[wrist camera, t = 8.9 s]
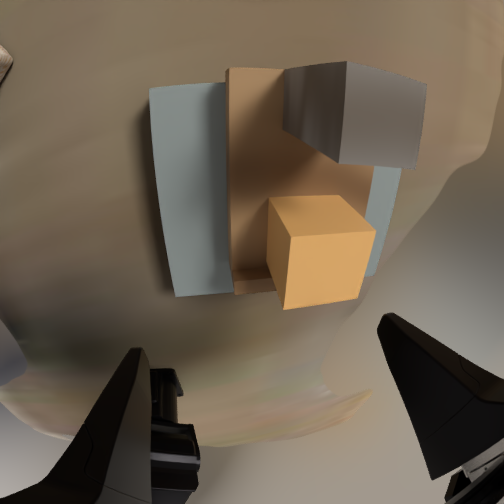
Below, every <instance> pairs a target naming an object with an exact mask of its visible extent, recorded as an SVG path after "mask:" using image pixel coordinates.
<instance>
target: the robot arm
mask: <svg viewBox="0 0 504 504" xmlns="http://www.w3.org/2000/svg"><path fill="white" fill-rule="evenodd" d="M377 334H378V337H379V340H380V343H381V346H382V349H383V352H384V355H385V358H386V361H387V364H388V366H389V369H390V371H391V373H392V375H393V378H394V380H395V382H396V385H397V387H398V390H399V392H400V395H401V397H402V399H403V401H404V404H405V407H406V409H407V412H408V414H409V417H410V420H411V422H412V425H413V428H414V430H415V433H416V436H417V438H418V441H419V443H420V447H421V450H422V453H423V456H424V459H425V462H426V465H427V468H428V471H429V474H430V477H431V480H434V479H437V478H439V477H441V476H443V475H445V474H447V473H449V472H450V471H452V470H454V469H456V468H458V467H460V466H461V467H462V469H460V470H459V471H458V472H456V473H455V474H454V475H452V476H451V480H450V483H449V486H448V489H447V492H446V494H445V501H446V503H445V504H504V379H502V378H499V377H498V376H496V375H494V374H492V373H490V372H488V371H486V370H484V369H482V368H481V367H479V366H477V365H475V364H474V363H472V362H470V361H469V360H467V359H465V358H464V357H462V356H461V355H458V353H456V352H455V351H453V350H452V349H450V348H448V347H447V346H445V345H444V344H442V343H441V342H439V341H438V340H436V339H434V338H433V337H431V336H430V335H428V334H426V333H425V332H423V331H422V330H420V329H419V328H417V327H415V326H414V325H412V324H411V323H409V322H407V321H406V320H404V319H403V318H401V317H399V316H398V315H396V314H395V313H387V314H384V315H383V316H382V318H381V321H380V323H379V325H378V328H377ZM180 396H183V390H182V388H181V385H180V383H179V380H178V378H177V375H176V372H175V370H173V369H152V370H150V367H149V362H148V359H147V357H146V354H145V352H144V350H143V348H141V347H135V348H131V349H130V350H129V351H128V353H127V354H126V356H125V357H124V359H123V360H122V362H121V363H120V365H119V367H118V368H117V370H116V371H115V373H114V374H113V376H112V377H111V379H110V381H109V382H108V384H107V385H106V387H105V389H104V390H103V392H102V393H101V395H100V397H99V398H98V400H97V401H96V403H95V405H94V406H93V408H92V410H91V411H90V413H89V415H88V416H87V418H86V420H85V421H84V423H85V424H82V426H81V428H80V430H79V431H78V433H77V434H76V436H75V438H74V439H73V441H72V442H71V444H70V445H69V447H68V448H67V449H66V451H65V452H64V454H63V455H62V456H61V458H60V459H59V460H58V462H57V463H56V464H55V466H54V467H53V468H52V470H51V471H50V473H49V474H48V475H47V476H46V477H45V478H44V479H43V480H42V481H40V482H39V483H37V484H35V485H32V486H30V487H28V488H26V489H23V490H21V491H19V492H16V493H14V494H11V495H9V496H6V497H3V498H0V504H185V502H186V501H187V499H188V498H189V496H190V495H191V493H192V492H195V491H196V489H197V487H198V476H197V472H198V470H199V468H200V451H199V447H198V443H197V439H196V435H195V430H194V426H193V424H180V423H178V418H177V397H180Z"/></svg>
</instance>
